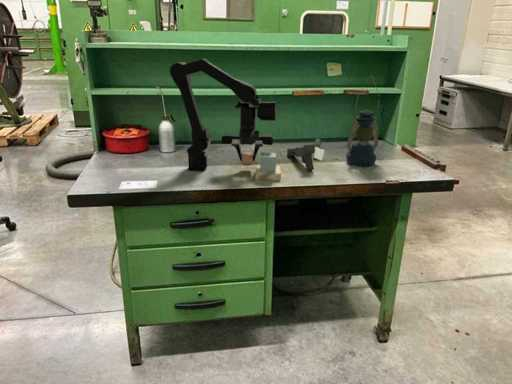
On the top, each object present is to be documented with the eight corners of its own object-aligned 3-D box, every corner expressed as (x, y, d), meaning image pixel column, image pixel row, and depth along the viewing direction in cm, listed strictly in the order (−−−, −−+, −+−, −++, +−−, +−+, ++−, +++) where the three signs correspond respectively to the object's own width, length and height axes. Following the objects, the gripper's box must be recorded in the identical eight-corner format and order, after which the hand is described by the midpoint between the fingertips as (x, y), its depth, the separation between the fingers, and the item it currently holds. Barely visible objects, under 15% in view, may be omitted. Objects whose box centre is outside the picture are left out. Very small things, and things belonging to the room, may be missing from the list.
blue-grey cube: (260, 171, 151) (260, 156, 149) (260, 166, 156) (260, 152, 154) (275, 171, 151) (276, 157, 149) (275, 167, 156) (275, 152, 154)
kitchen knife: (326, 159, 173) (314, 155, 173) (323, 165, 174) (312, 161, 174) (325, 140, 200) (315, 137, 200) (323, 145, 201) (313, 142, 201)
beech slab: (255, 179, 151) (255, 173, 150) (255, 171, 159) (256, 165, 158) (280, 180, 151) (280, 173, 150) (279, 172, 159) (280, 165, 158)
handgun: (306, 171, 159) (305, 145, 157) (286, 169, 182) (284, 146, 181) (316, 171, 160) (315, 144, 158) (294, 169, 183) (293, 145, 182)
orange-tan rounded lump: (240, 165, 158) (240, 154, 156) (242, 161, 162) (242, 151, 161) (251, 165, 157) (251, 155, 156) (254, 162, 161) (254, 152, 160)
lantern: (354, 168, 164) (364, 76, 152) (337, 160, 175) (345, 73, 162) (384, 165, 169) (396, 75, 157) (366, 157, 180) (376, 72, 167)
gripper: (219, 124, 146) (220, 167, 152) (273, 125, 146) (272, 168, 152) (222, 117, 156) (223, 158, 162) (273, 118, 156) (271, 159, 162)
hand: (247, 161), depth 159 cm, fingers closed on orange-tan rounded lump, 4 cm apart
